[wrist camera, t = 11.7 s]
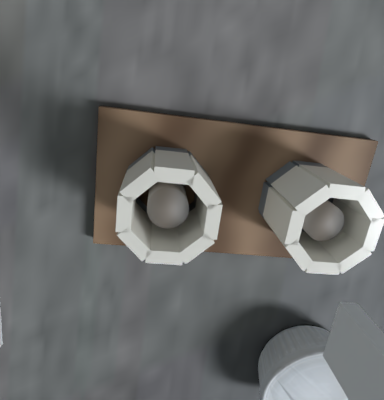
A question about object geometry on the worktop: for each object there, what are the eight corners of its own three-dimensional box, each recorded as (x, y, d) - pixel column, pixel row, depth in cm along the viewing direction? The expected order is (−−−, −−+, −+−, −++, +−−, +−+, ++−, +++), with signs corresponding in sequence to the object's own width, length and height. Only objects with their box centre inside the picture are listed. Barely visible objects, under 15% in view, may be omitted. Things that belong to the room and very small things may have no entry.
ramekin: (232, 380, 39) (243, 423, 34) (278, 303, 36) (296, 338, 31) (313, 401, 42) (334, 445, 37) (362, 331, 39) (393, 368, 34)
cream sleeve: (212, 152, 29) (228, 174, 22) (201, 227, 31) (212, 267, 25) (128, 142, 28) (119, 162, 21) (123, 221, 30) (113, 260, 24)
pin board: (371, 139, 31) (423, 154, 25) (336, 256, 35) (373, 294, 29) (100, 105, 28) (84, 113, 22) (95, 238, 32) (79, 276, 26)
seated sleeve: (343, 166, 30) (394, 190, 24) (324, 236, 33) (365, 276, 26) (268, 157, 30) (299, 180, 23) (253, 231, 32) (277, 270, 25)
